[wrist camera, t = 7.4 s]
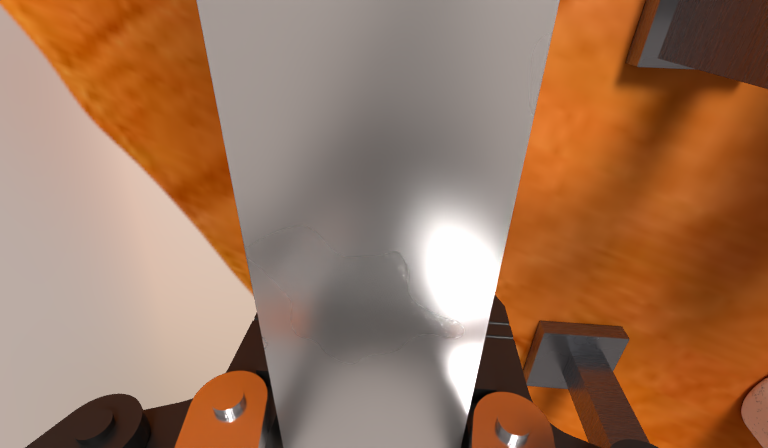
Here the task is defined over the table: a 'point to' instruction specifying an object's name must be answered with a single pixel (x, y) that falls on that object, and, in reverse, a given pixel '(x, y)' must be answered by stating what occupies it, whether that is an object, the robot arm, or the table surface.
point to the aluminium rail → (375, 198)
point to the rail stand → (606, 343)
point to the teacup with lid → (757, 412)
